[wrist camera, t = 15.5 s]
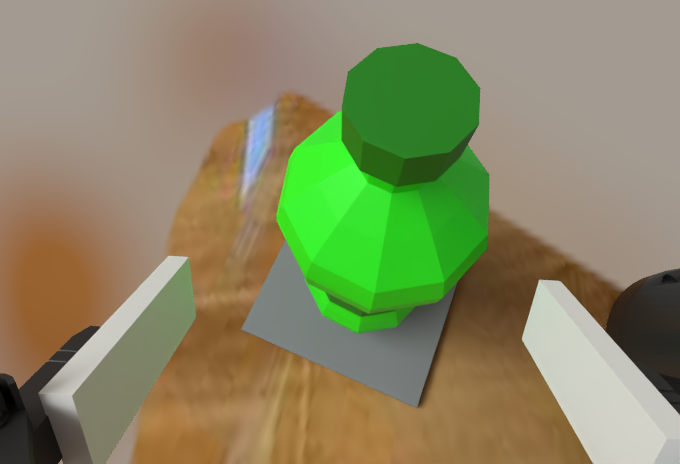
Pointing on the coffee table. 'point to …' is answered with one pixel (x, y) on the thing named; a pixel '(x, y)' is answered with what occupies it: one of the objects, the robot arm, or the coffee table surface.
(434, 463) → the coffee table surface
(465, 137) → the plastic bottle
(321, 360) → the rubber coaster
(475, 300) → the coffee table surface
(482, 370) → the coffee table surface
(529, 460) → the coffee table surface
